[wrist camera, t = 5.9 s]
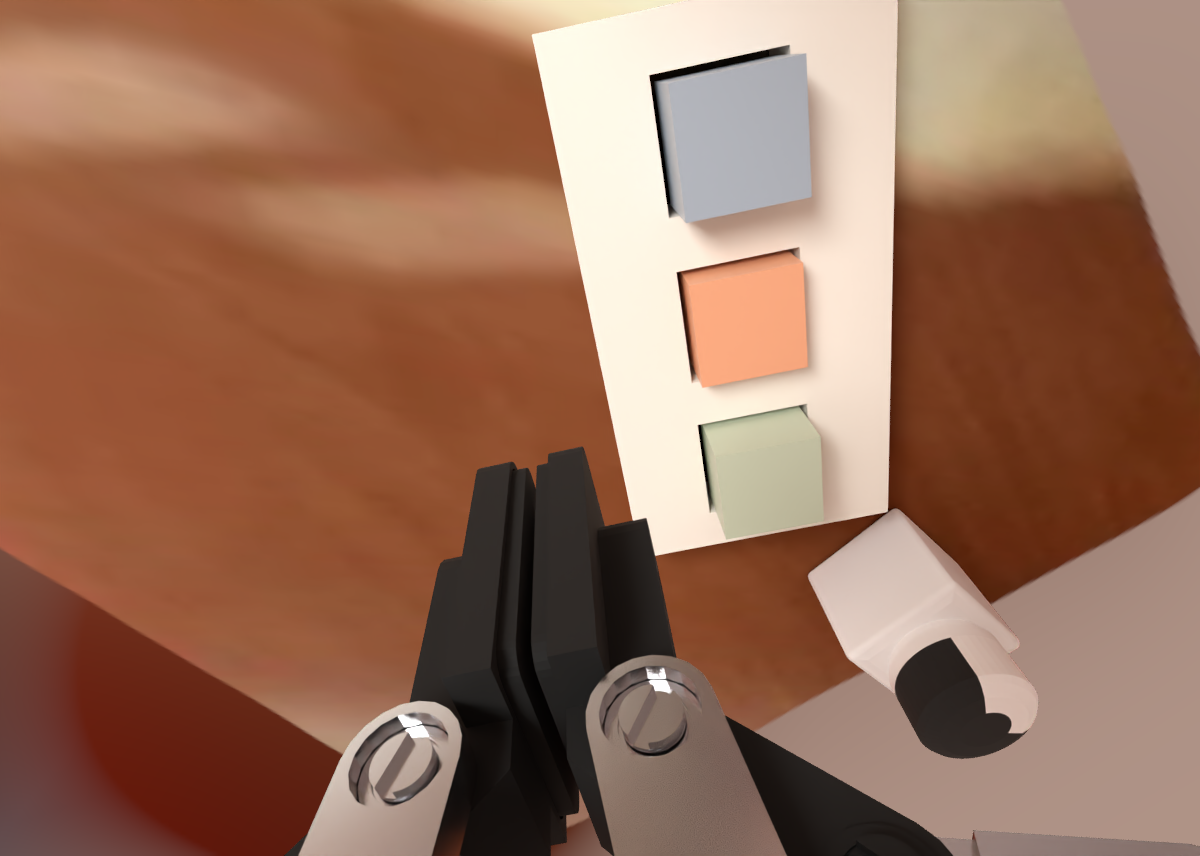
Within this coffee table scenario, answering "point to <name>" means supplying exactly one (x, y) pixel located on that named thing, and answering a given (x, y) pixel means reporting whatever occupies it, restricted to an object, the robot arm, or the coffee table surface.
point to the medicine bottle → (927, 638)
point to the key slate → (736, 136)
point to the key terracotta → (744, 317)
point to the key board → (732, 244)
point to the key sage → (764, 471)
